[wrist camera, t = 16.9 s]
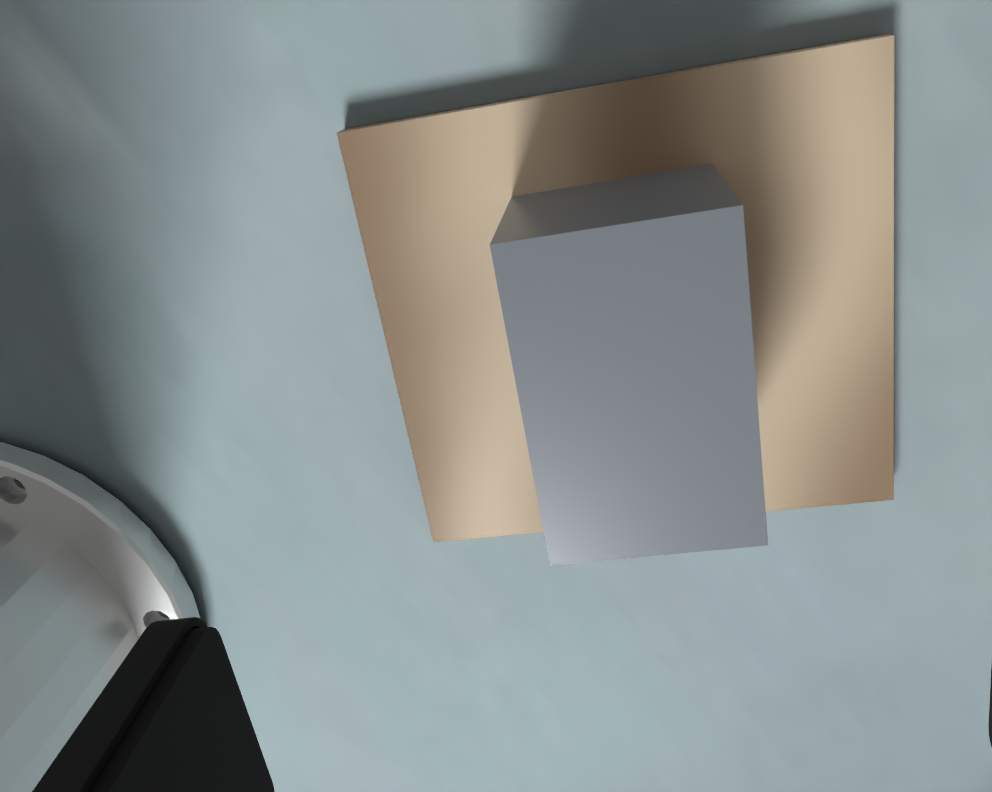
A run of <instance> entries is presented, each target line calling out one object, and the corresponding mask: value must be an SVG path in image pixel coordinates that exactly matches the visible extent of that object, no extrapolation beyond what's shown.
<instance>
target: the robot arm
mask: <svg viewBox="0 0 992 792" xmlns="http://www.w3.org/2000/svg"><path fill="white" fill-rule="evenodd" d="M989 737H990V742H991V746H992V669H991V690H990V710H989ZM0 792H274V787H273V783H272V780H271V777H270V774H269V771H268V768H267V766H266V763H265V760H264V757H263V754H262V751H261V749H260V746H259V743H258V740H257V737H256V734H255V732H254V729H253V726H252V723H251V720H250V718H249V715H248V712H247V709H246V706H245V703H244V701H243V698H242V695H241V692H240V689H239V686H238V684H237V681H236V678H235V675H234V672H233V670H232V667H231V664H230V661H229V658H228V655H227V653H226V650H225V647H224V644H223V641H222V638H221V636H220V634H219V632H218V631H217V630H216V629H215V628H213V627H207V626H206V624H205V622H204V621H203V620H202V619H201V618H200V615H199V612H198V609H197V605H196V602H195V599H194V596H193V593H192V591H191V589H190V588H189V586H188V584H187V582H186V580H185V578H184V576H183V575H182V573H181V571H180V569H179V567H178V565H177V563H176V562H175V560H174V559H173V557H172V556H171V555H170V554H169V552H168V551H167V550H166V549H165V547H164V546H163V545H162V543H161V542H160V541H159V540H158V538H157V537H156V536H155V534H154V533H153V532H152V531H151V529H150V528H149V527H148V526H146V525H145V524H144V523H143V522H142V521H141V520H140V519H139V518H138V517H137V516H136V515H135V514H134V513H133V512H132V511H130V510H129V509H128V508H127V507H126V506H125V505H124V504H123V503H122V502H121V501H120V500H118V499H117V498H116V497H114V496H113V495H111V494H110V493H108V492H107V491H105V490H104V489H103V488H101V487H100V486H98V485H97V484H95V483H94V482H92V481H91V480H90V479H88V478H87V477H85V476H84V475H82V474H80V473H78V472H76V471H74V470H72V469H70V468H68V467H66V466H64V465H62V464H60V463H58V462H56V461H54V460H52V459H50V458H48V457H46V456H43V455H40V454H37V453H34V452H31V451H28V450H25V449H22V448H19V447H15V446H12V445H9V444H6V443H3V442H0Z"/></svg>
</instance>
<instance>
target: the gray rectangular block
mask: <svg viewBox="0 0 992 792" xmlns="http://www.w3.org/2000/svg"><path fill="white" fill-rule="evenodd" d="M490 250H491V255H492V260H493V265H494V271H495V276H496V281H497V287H498V292H499V297H500V303H501V308H502V313H503V319H504V324H505V329H506V335H507V340H508V345H509V351H510V356H511V361H512V366H513V372H514V377H515V382H516V388H517V393H518V398H519V404H520V409H521V414H522V420H523V425H524V430H525V436H526V441H527V446H528V452H529V457H530V462H531V468H532V473H533V478H534V483H535V489H536V494H537V499H538V505H539V510H540V515H541V521H542V526H543V531H544V537H545V542H546V547H547V553H548V558H549V563H550V565H560V564H571V563H581V562H592V561H603V560H614V559H624V558H635V557H646V556H657V555H667V554H678V553H689V552H700V551H711V550H721V549H732V548H743V547H754V546H764V545H768V537H767V523H766V510H765V496H764V482H763V469H762V455H761V442H760V428H759V414H758V401H757V387H756V374H755V360H754V346H753V333H752V319H751V305H750V292H749V278H748V265H747V251H746V237H745V224H744V210H743V204H742V203H741V202H740V200H739V199H738V198H737V196H736V195H735V194H734V192H733V191H732V190H731V188H730V187H729V186H728V184H727V183H726V182H725V180H724V179H723V178H722V176H721V175H720V174H719V172H718V171H717V170H716V168H715V167H714V166H713V164H707V165H701V166H695V167H689V168H683V169H676V170H670V171H664V172H658V173H652V174H646V175H640V176H634V177H628V178H622V179H616V180H610V181H604V182H598V183H592V184H586V185H580V186H574V187H568V188H562V189H556V190H550V191H544V192H538V193H532V194H525V195H519V196H513V197H511V199H510V201H509V203H508V206H507V208H506V210H505V212H504V214H503V217H502V219H501V221H500V223H499V225H498V228H497V230H496V232H495V234H494V236H493V238H492V241H491V243H490Z"/></svg>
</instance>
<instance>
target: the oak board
mask: <svg viewBox="0 0 992 792" xmlns="http://www.w3.org/2000/svg"><path fill="white" fill-rule="evenodd" d="M337 136H338V140H339V144H340V148H341V153H342V157H343V161H344V165H345V170H346V174H347V178H348V182H349V186H350V191H351V195H352V199H353V203H354V208H355V212H356V216H357V220H358V225H359V229H360V233H361V237H362V242H363V246H364V250H365V254H366V259H367V263H368V267H369V271H370V275H371V280H372V284H373V288H374V292H375V297H376V301H377V305H378V309H379V314H380V318H381V322H382V326H383V331H384V335H385V339H386V343H387V347H388V352H389V356H390V360H391V364H392V369H393V373H394V377H395V381H396V386H397V390H398V394H399V398H400V403H401V407H402V411H403V415H404V419H405V424H406V428H407V432H408V436H409V441H410V445H411V449H412V453H413V458H414V462H415V466H416V470H417V475H418V479H419V483H420V487H421V491H422V496H423V500H424V504H425V508H426V513H427V517H428V521H429V525H430V530H431V534H432V538H433V542H440V541H451V540H461V539H472V538H483V537H494V536H505V535H516V534H527V533H537V532H544V531H543V526H542V521H541V515H540V510H539V505H538V499H537V494H536V489H535V483H534V478H533V473H532V468H531V462H530V457H529V452H528V446H527V441H526V436H525V430H524V425H523V420H522V414H521V409H520V404H519V398H518V393H517V388H516V382H515V377H514V372H513V366H512V361H511V356H510V351H509V345H508V340H507V335H506V329H505V324H504V319H503V313H502V308H501V303H500V297H499V292H498V287H497V281H496V276H495V271H494V265H493V260H492V255H491V250H490V243H491V241H492V238H493V236H494V234H495V232H496V230H497V228H498V225H499V223H500V221H501V219H502V217H503V214H504V212H505V210H506V208H507V206H508V203H509V201H510V199H511V197H513V196H519V195H525V194H532V193H538V192H544V191H550V190H556V189H562V188H568V187H574V186H580V185H586V184H592V183H598V182H604V181H610V180H616V179H622V178H628V177H634V176H640V175H646V174H652V173H658V172H664V171H670V170H676V169H683V168H689V167H695V166H701V165H707V164H713V166H714V167H715V168H716V170H717V171H718V172H719V174H720V175H721V176H722V178H723V179H724V180H725V182H726V183H727V184H728V186H729V187H730V188H731V190H732V191H733V192H734V194H735V195H736V196H737V198H738V199H739V200H740V202H741V203H742V204H743V210H744V224H745V237H746V251H747V265H748V278H749V292H750V305H751V319H752V333H753V346H754V360H755V374H756V387H757V401H758V414H759V428H760V442H761V455H762V469H763V482H764V496H765V510H766V511H776V510H787V509H798V508H809V507H820V506H830V505H841V504H852V503H863V502H874V501H885V500H894V35H886V34H885V35H880V36H874V37H868V38H863V39H857V40H851V41H846V42H840V43H834V44H828V45H823V46H817V47H811V48H806V49H800V50H794V51H788V52H783V53H777V54H771V55H766V56H760V57H754V58H749V59H743V60H737V61H731V62H726V63H720V64H714V65H709V66H703V67H697V68H692V69H686V70H680V71H674V72H669V73H663V74H657V75H652V76H646V77H640V78H635V79H629V80H623V81H617V82H612V83H606V84H600V85H595V86H589V87H583V88H577V89H572V90H566V91H560V92H555V93H549V94H543V95H538V96H532V97H526V98H520V99H515V100H509V101H503V102H498V103H492V104H486V105H481V106H475V107H469V108H463V109H458V110H452V111H446V112H441V113H435V114H429V115H424V116H418V117H412V118H406V119H401V120H395V121H389V122H384V123H378V124H372V125H366V126H361V127H355V128H349V129H344V130H342V131H339V132H337Z"/></svg>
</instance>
